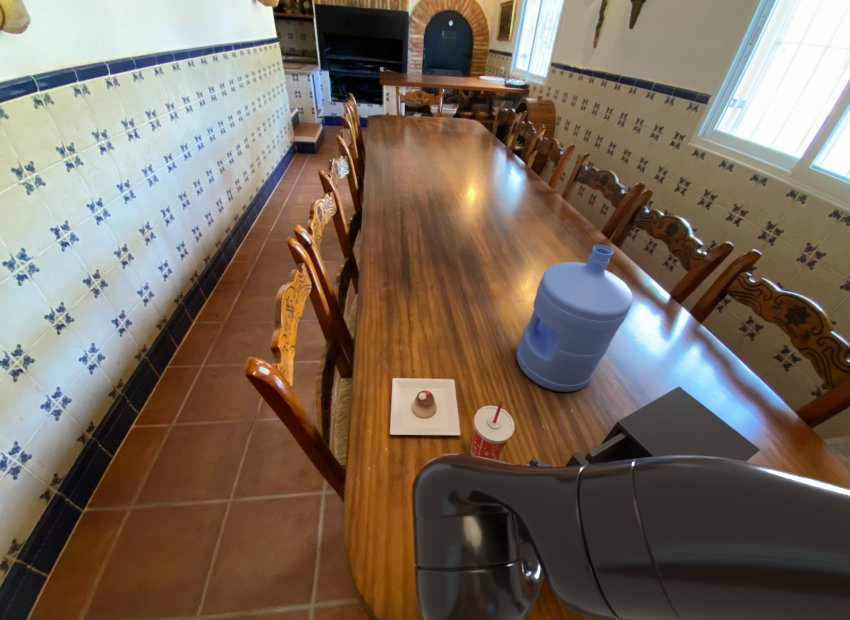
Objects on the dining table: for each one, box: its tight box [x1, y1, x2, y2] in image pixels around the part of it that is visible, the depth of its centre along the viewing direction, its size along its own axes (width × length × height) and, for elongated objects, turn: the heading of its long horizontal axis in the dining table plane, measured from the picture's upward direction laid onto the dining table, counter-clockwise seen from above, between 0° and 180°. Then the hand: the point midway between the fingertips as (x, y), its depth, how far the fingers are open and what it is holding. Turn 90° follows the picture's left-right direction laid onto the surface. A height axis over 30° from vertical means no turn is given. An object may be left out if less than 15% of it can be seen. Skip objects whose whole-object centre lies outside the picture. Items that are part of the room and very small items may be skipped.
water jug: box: [516, 244, 634, 393], centre depth 67 cm, size 16×16×28 cm
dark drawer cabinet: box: [600, 386, 761, 462], centre depth 56 cm, size 16×13×11 cm
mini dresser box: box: [565, 432, 649, 466], centre depth 51 cm, size 19×11×9 cm, turn 118°
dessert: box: [389, 377, 462, 436], centre depth 64 cm, size 12×12×5 cm
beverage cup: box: [470, 401, 515, 460], centre depth 55 cm, size 6×6×14 cm
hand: (585, 511), depth 48 cm, fingers closed on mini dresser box, 6 cm apart
